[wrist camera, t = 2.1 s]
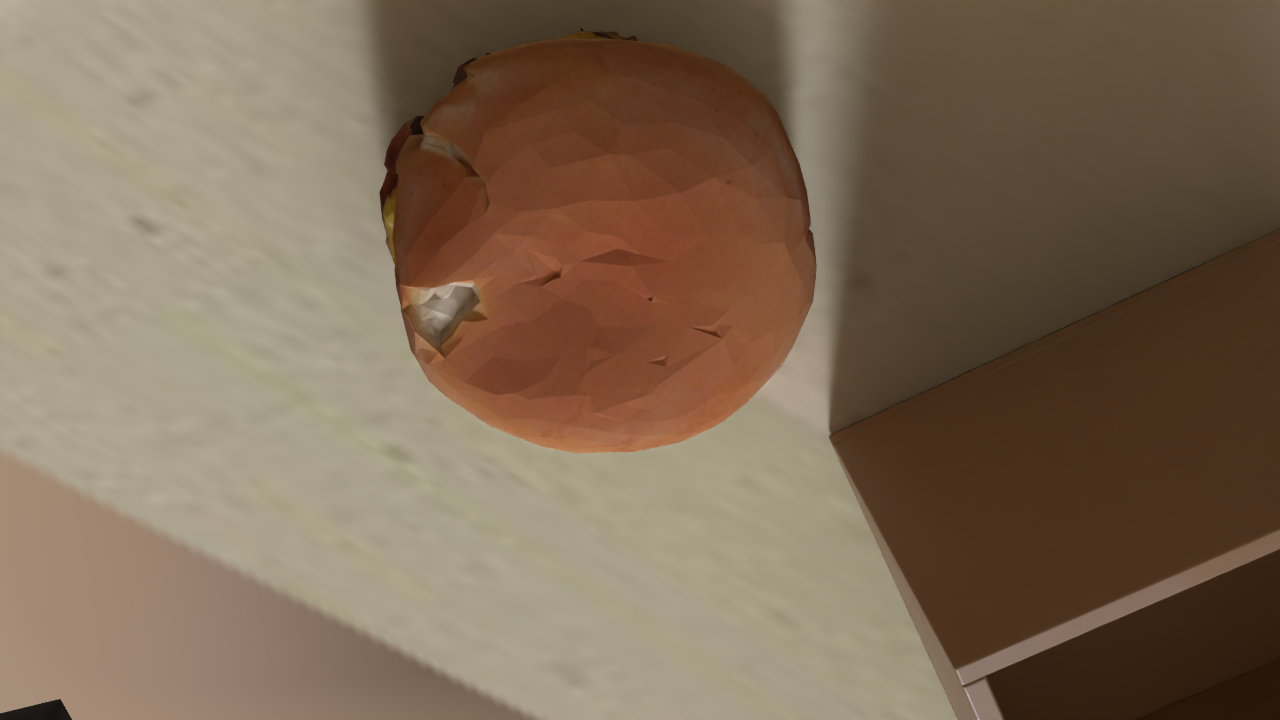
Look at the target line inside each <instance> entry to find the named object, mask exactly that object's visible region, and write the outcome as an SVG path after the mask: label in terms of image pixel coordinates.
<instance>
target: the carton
mask: <svg viewBox="0 0 1280 720" xmlns="http://www.w3.org/2000/svg"><path fill="white" fill-rule="evenodd" d="M829 439H830V441H831V443H832V445H833V448H834V450H835V452H836V454H837V456H838V458H839V461H840V463H841V465H842V467H843V469H844V472H845V474H846V476H847V478H848V480H849V482H850V485H851V487H852V489H853V491H854V493H855V496H856V498H857V500H858V502H859V504H860V507H861V509H862V511H863V513H864V515H865V517H866V520H867V522H868V524H869V526H870V528H871V531H872V533H873V535H874V537H875V539H876V541H877V544H878V546H879V548H880V550H881V552H882V555H883V557H884V559H885V561H886V563H887V566H888V568H889V570H890V572H891V574H892V576H893V579H894V581H895V583H896V585H897V587H898V590H899V592H900V594H901V596H902V598H903V600H904V603H905V605H906V607H907V609H908V611H909V614H910V616H911V618H912V620H913V622H914V624H915V627H916V629H917V631H918V633H919V635H920V638H921V640H922V642H923V644H924V646H925V649H926V651H927V653H928V655H929V657H930V659H931V662H932V664H933V666H934V668H935V670H936V673H937V675H938V677H939V679H940V681H941V683H942V686H943V688H944V690H945V692H946V694H947V697H948V699H949V701H950V703H951V705H952V707H953V710H954V712H955V714H956V716H957V718H958V720H1280V229H1279V230H1277V231H1275V232H1273V233H1270V234H1268V235H1266V236H1264V237H1262V238H1259V239H1257V240H1255V241H1253V242H1251V243H1249V244H1246V245H1244V246H1242V247H1240V248H1238V249H1235V250H1233V251H1231V252H1229V253H1227V254H1225V255H1222V256H1220V257H1218V258H1216V259H1214V260H1212V261H1209V262H1207V263H1205V264H1203V265H1201V266H1198V267H1196V268H1194V269H1192V270H1190V271H1188V272H1185V273H1183V274H1181V275H1179V276H1177V277H1175V278H1172V279H1170V280H1168V281H1166V282H1164V283H1161V284H1159V285H1157V286H1155V287H1153V288H1151V289H1148V290H1146V291H1144V292H1142V293H1140V294H1137V295H1135V296H1133V297H1131V298H1129V299H1127V300H1124V301H1122V302H1120V303H1118V304H1116V305H1114V306H1111V307H1109V308H1107V309H1105V310H1103V311H1100V312H1098V313H1096V314H1094V315H1092V316H1090V317H1087V318H1085V319H1083V320H1081V321H1079V322H1077V323H1074V324H1072V325H1070V326H1068V327H1066V328H1063V329H1061V330H1059V331H1057V332H1055V333H1053V334H1050V335H1048V336H1046V337H1044V338H1042V339H1039V340H1037V341H1035V342H1033V343H1031V344H1029V345H1026V346H1024V347H1022V348H1020V349H1018V350H1016V351H1013V352H1011V353H1009V354H1007V355H1005V356H1002V357H1000V358H998V359H996V360H994V361H992V362H989V363H987V364H985V365H983V366H981V367H979V368H976V369H974V370H972V371H970V372H968V373H965V374H963V375H961V376H959V377H957V378H955V379H952V380H950V381H948V382H946V383H944V384H942V385H939V386H937V387H935V388H933V389H931V390H928V391H926V392H924V393H922V394H920V395H918V396H915V397H913V398H911V399H909V400H907V401H904V402H902V403H900V404H898V405H896V406H894V407H891V408H889V409H887V410H885V411H883V412H881V413H878V414H876V415H874V416H872V417H870V418H867V419H865V420H863V421H861V422H859V423H857V424H854V425H852V426H850V427H848V428H846V429H844V430H841V431H839V432H837V433H835V434H833V435H830V436H829Z"/></svg>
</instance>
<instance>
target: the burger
mask: <svg viewBox="0 0 1280 720" xmlns="http://www.w3.org/2000/svg"><path fill="white" fill-rule="evenodd" d="M580 29H581V31H580V32H576V33H573V34H570V35H568V36H565V37H561V38H553V39H547V40H541V41H536V42H530V43H524V44H519V45H516V46H513V47H510V48H507V49H504V50H501V51H497V52H494V53H487V54H485V55H484V56H482V57H479V58H473V59H471V60H469V61H467V62H465V63H464V64H462V65H460V66H459V67H458V70H457V72H456V75H455V78H454V80H453V83H454V85H453V88H452V90H451V91H450V92H449V93H448V94H447V95H446V96H444V97H443V98H442V99H441V100H440V101H438V102H437V103H436V104H435V105H434V106H433V107H432V108H431V110H430V111H429V112H428V113H427V114H426V116H417V117H415V118H414V119H412V120H410V121H408V122H406V123H405V124H404V125H403V126H402V127H401V129H400V130H399V131H398V132H397V134H396V135H395V136H394V138H393V139H392V140H391V143H390V145H389V147H388V149H387V153H386V158H385V163H384V165H385V167H386V168H387V170H388V171H387V174H386V177H385V181H384V183H383V185H382V188H381V190H380V201H381V211H382V219H383V223H384V227H385V230H386V234H387V237H386V243H387V246H388V248H389V250H390V253H391V255H392V258H393V261H394V264H395V278H396V287H397V292H398V296H399V300H400V303H401V312H402V316H403V320H404V324H405V328H406V332H407V336H408V340H409V344H410V348H411V351H412V353H413V354H414V356H415V357H416V359H417V361H418V363H419V364H420V366H421V368H422V370H423V371H424V373H425V375H426V377H427V378H428V380H429V381H430V382H431V383H432V384H433V385H434V386H435V387H436V388H437V389H439V390H440V391H441V392H442V393H443V394H444V395H445V396H446V397H448V398H449V399H450V400H452V401H453V402H455V403H456V404H458V405H459V406H461V407H462V408H464V409H465V410H467V411H468V412H470V413H471V414H473V415H474V416H476V417H477V418H479V419H480V420H482V421H483V422H485V423H486V424H488V425H489V426H491V427H493V428H496V429H498V430H501V431H503V432H506V433H508V434H511V435H513V436H516V437H519V438H521V439H524V440H526V441H529V442H531V443H534V444H536V445H539V446H543V447H548V448H553V449H558V450H563V451H568V452H572V453H594V452H634V451H639V450H644V449H649V448H654V447H659V446H663V445H668V444H673V443H678V442H681V441H683V440H685V439H688V438H690V437H692V436H695V435H697V434H699V433H701V432H703V431H705V430H707V429H710V428H712V427H714V426H716V425H717V424H719V423H721V422H723V421H724V420H725V419H727V418H728V417H729V416H731V415H732V414H733V413H734V412H736V411H737V410H738V409H739V408H741V407H742V406H743V405H744V404H746V403H747V402H748V401H749V400H750V399H751V398H752V397H753V395H754V394H755V393H756V392H757V391H758V390H759V389H760V388H761V387H762V386H763V385H764V384H765V383H766V382H767V381H768V380H769V379H770V378H771V377H772V376H773V375H774V373H775V372H776V371H777V370H778V369H779V368H780V367H781V366H782V364H783V363H784V361H785V359H786V357H787V356H788V354H789V352H790V350H791V349H792V347H793V344H794V342H795V340H796V338H797V336H798V333H799V331H800V329H801V327H802V324H803V322H804V320H805V318H806V316H807V313H808V311H809V309H810V307H811V304H812V302H813V296H814V287H815V279H816V267H817V266H816V256H815V247H814V240H813V233H812V232H811V231H810V229H809V227H810V224H811V223H810V212H809V204H808V197H807V190H806V187H805V183H804V179H803V176H802V172H801V168H800V165H799V162H798V159H797V157H796V155H795V152H794V150H793V148H792V146H791V143H790V141H789V139H788V136H787V134H786V132H785V130H784V127H783V125H782V123H781V120H780V118H779V116H778V114H777V112H776V111H775V109H774V108H773V106H772V105H771V104H770V102H769V101H768V100H767V98H766V97H765V95H764V94H763V93H762V92H761V91H759V90H758V89H757V88H756V87H755V86H753V85H752V84H751V83H750V82H748V81H747V80H746V79H744V78H743V77H742V76H741V75H739V74H738V73H737V72H735V71H734V70H733V69H731V68H730V67H728V66H726V65H724V64H721V63H719V62H717V61H715V60H712V59H709V58H707V57H704V56H701V55H698V54H695V53H692V52H689V51H686V50H684V49H682V48H679V47H677V46H675V45H673V44H670V43H652V42H641V41H638V40H637V39H636V37H635V35H634V36H632V37H629V38H625V37H622V36H620V35H619V34H618V32H601V31H600V32H592V31H585V30H583V29H582V28H580Z"/></svg>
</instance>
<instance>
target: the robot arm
mask: <svg viewBox="0 0 1280 720" xmlns="http://www.w3.org/2000/svg"><path fill="white" fill-rule="evenodd" d="M0 720H72V719H71V717H70V715H69V714H68V712H67V710H66V708H65V706H64V705H63V703H62V701H61V700H60V699H59V700H54V701H50V702H46V703H42V704H38V705H34V706H29V707H25V708H21V709H17V710H13V711H9V712H4V713H0Z"/></svg>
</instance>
